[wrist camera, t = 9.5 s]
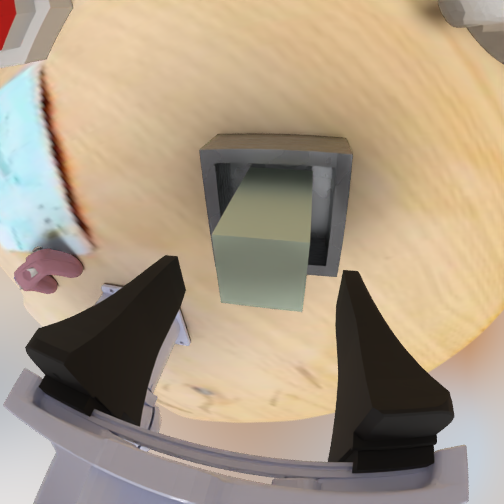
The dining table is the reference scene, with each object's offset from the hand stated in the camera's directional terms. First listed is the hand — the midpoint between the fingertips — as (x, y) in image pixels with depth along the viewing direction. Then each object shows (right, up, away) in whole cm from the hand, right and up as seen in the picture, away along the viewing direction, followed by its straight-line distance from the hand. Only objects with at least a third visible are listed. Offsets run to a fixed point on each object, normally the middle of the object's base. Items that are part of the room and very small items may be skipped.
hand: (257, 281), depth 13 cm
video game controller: (-24, 0, +17) cm, 30 cm away
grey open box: (+2, +5, +7) cm, 9 cm away
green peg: (+2, +5, +7) cm, 8 cm away
